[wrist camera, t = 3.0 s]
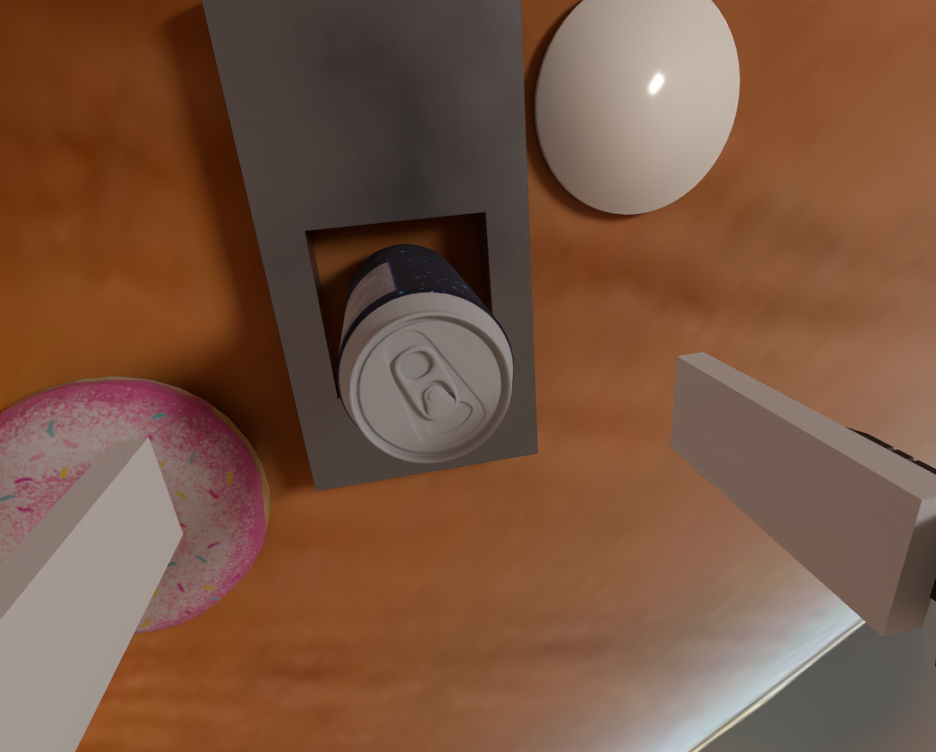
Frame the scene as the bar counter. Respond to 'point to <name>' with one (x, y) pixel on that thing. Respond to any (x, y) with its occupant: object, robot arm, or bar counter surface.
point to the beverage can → (421, 358)
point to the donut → (182, 466)
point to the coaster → (636, 100)
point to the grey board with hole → (379, 175)
